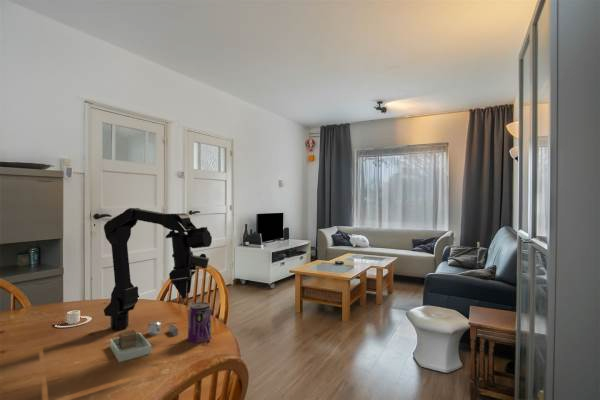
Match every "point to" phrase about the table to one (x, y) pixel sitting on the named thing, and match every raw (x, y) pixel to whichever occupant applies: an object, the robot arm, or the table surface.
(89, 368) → the table surface
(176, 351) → the table surface
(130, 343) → the walnut block
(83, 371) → the table surface
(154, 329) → the metal part
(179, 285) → the robot arm
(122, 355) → the shallow open crate
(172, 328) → the buffer stop
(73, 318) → the candle holder
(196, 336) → the beverage can
